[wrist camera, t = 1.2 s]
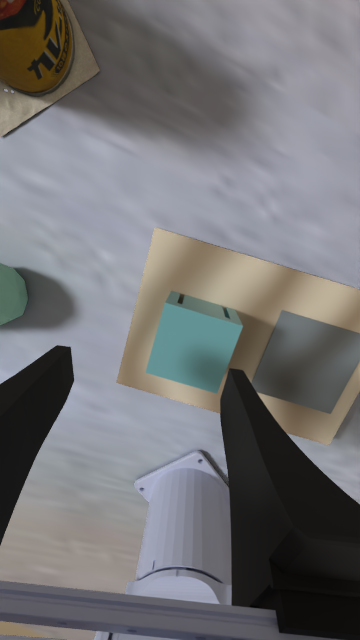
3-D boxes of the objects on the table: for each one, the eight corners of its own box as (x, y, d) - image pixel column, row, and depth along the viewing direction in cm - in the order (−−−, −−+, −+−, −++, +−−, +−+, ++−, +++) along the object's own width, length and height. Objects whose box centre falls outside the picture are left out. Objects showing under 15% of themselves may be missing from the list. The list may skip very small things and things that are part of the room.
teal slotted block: (235, 309, 21) (243, 326, 17) (214, 366, 22) (217, 393, 18) (171, 290, 20) (164, 302, 17) (154, 349, 22) (145, 372, 18)
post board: (394, 300, 21) (444, 316, 17) (321, 433, 25) (347, 474, 20) (157, 228, 21) (146, 225, 16) (121, 374, 24) (104, 403, 20)
